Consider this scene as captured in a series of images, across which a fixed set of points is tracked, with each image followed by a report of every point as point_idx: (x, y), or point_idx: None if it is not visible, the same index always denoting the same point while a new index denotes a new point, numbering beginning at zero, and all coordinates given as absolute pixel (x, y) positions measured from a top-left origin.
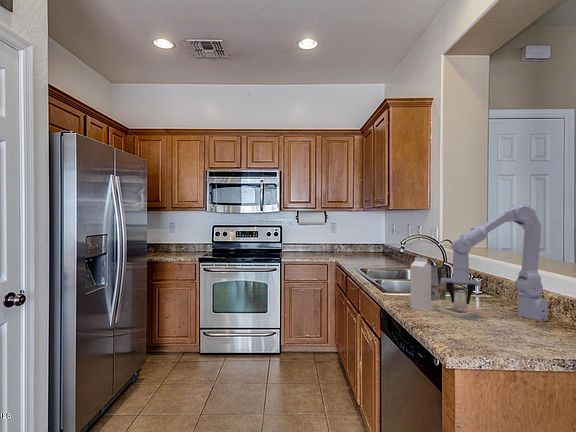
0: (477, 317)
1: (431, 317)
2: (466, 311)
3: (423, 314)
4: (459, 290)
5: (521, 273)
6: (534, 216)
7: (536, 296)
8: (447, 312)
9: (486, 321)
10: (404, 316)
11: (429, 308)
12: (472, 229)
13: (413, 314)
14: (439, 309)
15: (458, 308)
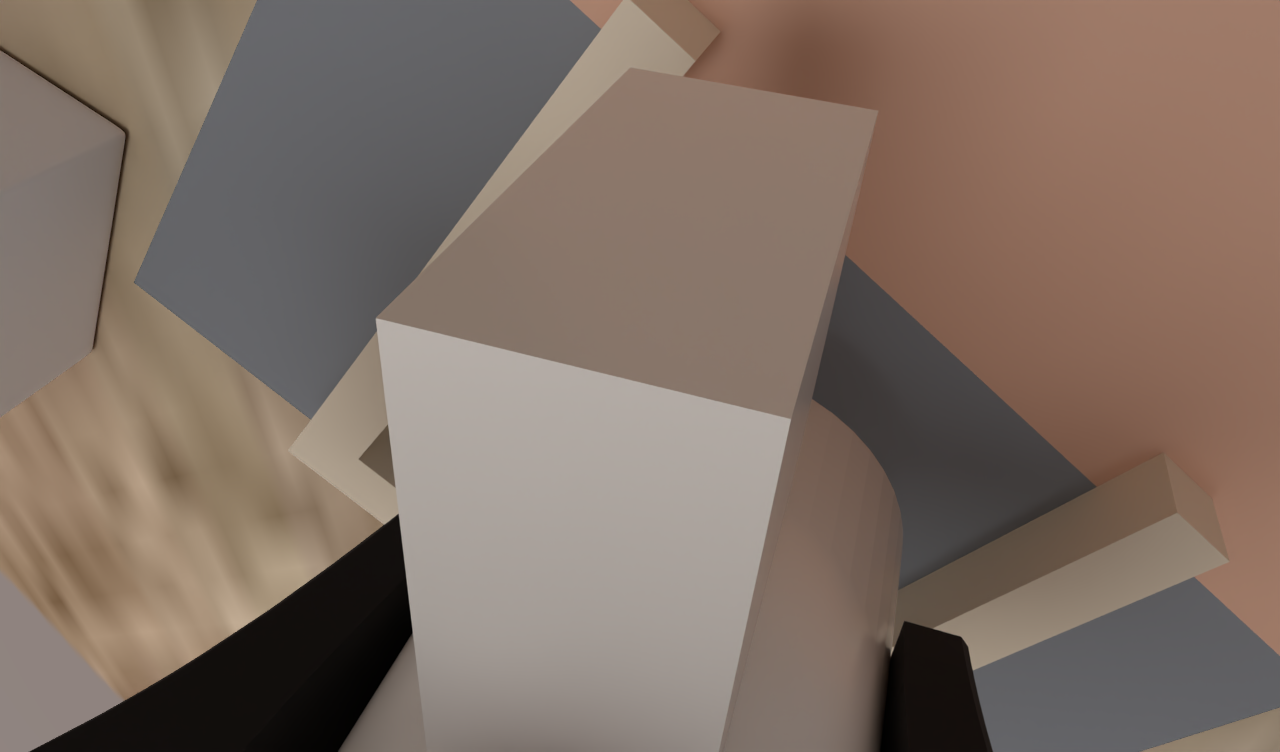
0: (1076, 706)
1: (306, 578)
2: (948, 199)
3: (146, 433)
4: (419, 393)
5: None
6: None
7: None
8: None
9: (1252, 721)
10: (26, 572)
11: (68, 209)
12: None
13: (44, 461)
14: (257, 180)
15: (706, 44)
